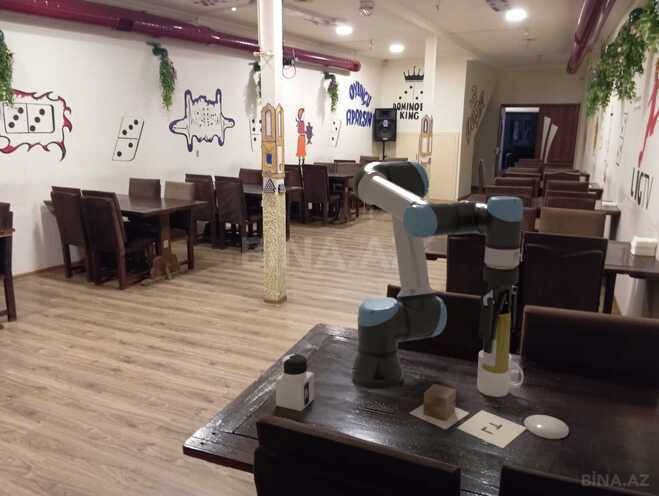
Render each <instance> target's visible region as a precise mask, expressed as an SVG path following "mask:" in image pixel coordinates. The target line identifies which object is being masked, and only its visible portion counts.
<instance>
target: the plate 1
mask: <svg viewBox="0 0 659 496" xmlns="http://www.w3.org/2000/svg"><path fill="white" fill-rule="evenodd" d="M423 412H424V403H423V404H422V405H420V406H417V408H415V409H413V410H412V411H410V412H409V414H410V415H412V416H414V417H417V418H418V419H421V420H423V421H426V422H428V423H431V424H433V425H435V426H437V427H438V428H442V429H443V430H448V429H449V428H450V427H451V426H453V425H454V424H456V423H457V422H459V421H460V420H462V419H463V418H464V417H466V416H467V415H469V414H470V412H468V411H466V410H463V409H461V408H459V407H456V406H455V412H454V413H453V414H452V415H451V416H450V417H449V418H448V419H447V420H446V421H443V420H439V419H436V418H433V417H430V416H427V415H424V414H423Z"/></svg>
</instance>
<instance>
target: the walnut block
mask: <svg viewBox="0 0 659 496" xmlns="http://www.w3.org/2000/svg"><path fill="white" fill-rule="evenodd" d="M456 394H457V389H454V388H450V387H447V386H443V385H440V384H437V383H433V384H432V385H431V386H429V388H427V390H425V391H424V392H423V404H424V412H423V414H424V415H427V416H430V417H433V418H436V419H439V420H443V421H446V420H447V419H448V418H449V417H450V416H451V415H452V414H453V413H454V412H455V407H456V398H457V396H456Z"/></svg>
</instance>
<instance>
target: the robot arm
mask: <svg viewBox="0 0 659 496" xmlns="http://www.w3.org/2000/svg"><path fill="white" fill-rule="evenodd" d="M429 188H430V180H429V176H428V173H427V170H426V169H425V167H424V166H423V165H422V164H421V163H419V162H417V161H410V160H402V161H401V160H400V161H372V162H369V163H366V164H364V165H362V166H361V167H359V169H357V171H356V172H355V173H354V175H353V179H352V190H353V193H354V195H355V196H356V197H357V198H358V200H360V201H361V202H363V203H365V204H368V205H375V206H376V207H378V208H380V209H381V210H383V211H385V212H387V213H388V214H390V215H391V221H392V228H393V238H394V245H395V252H396V258H397V259H396V261H397V265H398V266H397V267H398V268H397V269H398V275H399V281H400V282H399V283H400V291H399V292H398V293H397V295H396V298H397V299H396V298H395V297H388V296H387V297H386V296H385V297H381V296H379V297H374V298H371V299H367V300H365V301H364V302H363V303H361V304H360V306H359V307H358V312H357V313H358V315H357V338H358V339H357V354H356V357H355V359H354V364H353V365H352V369H351V378H352V380H353V381H354V382H355V383H356V384H358V385H360V386H362V387H365V388H368V389H369V388H370V389H386V388H387V389H388V388H392V387H395V386H397V385H399V384H401V383H402V382H403V380H404V369H403V367H402V365H401V364H402V363H401V361H400V357H399V353H398V352H399V351H398V350H399V347H398V345H399V343H402V342H408V341H415V340H420V339H429V338H431V337H436V336H439V335H440V334H442V332H443V331H444V329H445V327H446V325H447V319H448V313H447V307H446V304H445V303H444V301H443V299H442V298H440V297H439V296H437V291H436V290H434V289H433V288H432V287H431V285H430V278H429V271H428V264H427V263H428V261H427V256H426V250H425V242H424V239H425V238H429V237H441V236H451V235H452V236H453V235H463V234H464V235H465V234H478V235H481V236H482V235H483V236H485V249H484V263H485V265H484V266H483V281H484V282H485V283H487V284H488V288H487V291H486V293H487V294H486V295H481V296H480V298H479V300H480V315H479V326H478V327H479V328H478V338H480V339H481V338H482V339H483V349H482V350H483V364H486V365H489V366H492V367H494V366H495V358H496V342H497V339H494V338H495V334H496V329H497V324H498V319H499V314H500V312H501V313H503V314H505V313H507V312H508V311H507V310H509V311H510V312H511V320H510V333H511V332H512V333H515V329H516V328H515V326H516V324H517V323H516V319H517V299H518V293H519V286H515V285H516V284H517V283H519V274H520V272H519V271H520V269H519V267H518V266H519V265H520V258H521V257H522V253H521V243H522V229H523V220H524V204H523V199H521V198H520V197H517V196H509V195H508V196H507V195H499V196H497V195H496V196H491V197H489V198H488V200H487V202H483V201H477V200H476V199H471V200H469V199H464V200H460V201H459V202H445V203H443V202H442V203H441V202H440V203H435V202H432V201H430V200H427V199H425V197H426V196H427V195H428V193H429Z"/></svg>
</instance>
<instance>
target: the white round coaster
mask: <svg viewBox="0 0 659 496" xmlns="http://www.w3.org/2000/svg"><path fill="white" fill-rule="evenodd" d="M523 424H524V427H526V428H527V429H526V431H529V432H530V433H531V434H533V435H535V436H537V437H540V438H544V439H549V440H560V439H562V438H563V439H564V438H566V437H567V436H568V435H569V433H570V432H569V431H570V428H569V426H568V425H567V424H566V423H565V422H564V421H562V420H560V419H558V418H556V417H553V416H550V415H543V414H534V415H533V414H532V415H528V416H527V417H526V418H525V419H524V423H523Z"/></svg>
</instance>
